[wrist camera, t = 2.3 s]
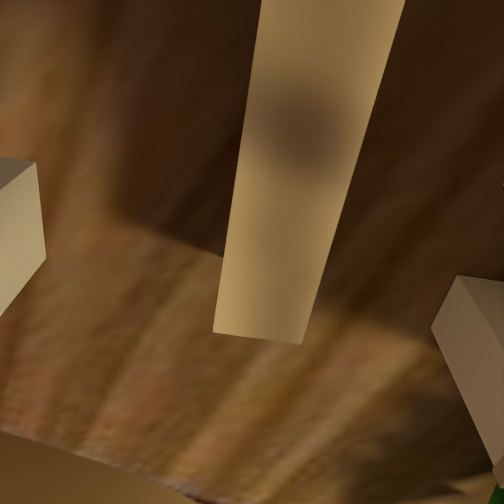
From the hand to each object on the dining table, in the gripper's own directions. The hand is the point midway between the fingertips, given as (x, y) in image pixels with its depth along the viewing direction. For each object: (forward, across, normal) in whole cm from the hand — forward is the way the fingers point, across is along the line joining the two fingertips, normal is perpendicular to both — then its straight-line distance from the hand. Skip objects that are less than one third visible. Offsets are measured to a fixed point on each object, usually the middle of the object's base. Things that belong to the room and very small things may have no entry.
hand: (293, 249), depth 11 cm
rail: (+11, 0, 0) cm, 11 cm away
